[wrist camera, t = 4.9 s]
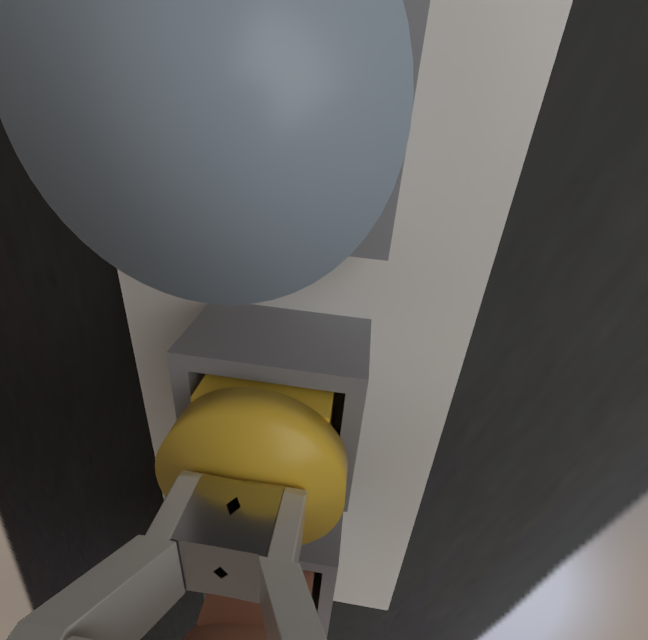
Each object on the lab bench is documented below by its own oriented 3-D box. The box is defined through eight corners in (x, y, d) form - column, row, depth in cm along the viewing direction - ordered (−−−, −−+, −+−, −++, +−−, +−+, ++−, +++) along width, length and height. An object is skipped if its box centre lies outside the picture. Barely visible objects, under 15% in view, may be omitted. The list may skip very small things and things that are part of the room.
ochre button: (217, 307, 12) (140, 402, 8) (363, 325, 12) (355, 434, 8) (225, 416, 15) (167, 532, 11) (348, 435, 14) (335, 561, 10)
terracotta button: (217, 508, 15) (159, 651, 11) (336, 528, 15) (319, 683, 11) (223, 574, 17) (177, 712, 13) (326, 593, 17) (310, 740, 13)
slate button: (161, -48, 7) (-106, -231, 3) (417, -33, 7) (466, -219, 3) (187, 207, 9) (48, 283, 5) (379, 228, 9) (378, 325, 5)
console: (43, -265, 8) (-235, -567, 4) (630, -257, 7) (885, -625, 3) (186, 553, 21) (148, 640, 18) (387, 589, 21) (388, 687, 17)
